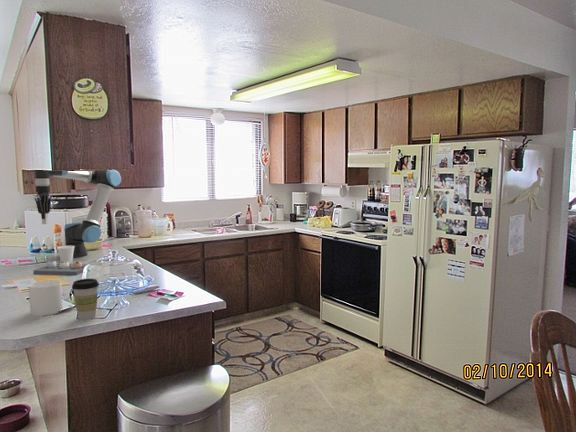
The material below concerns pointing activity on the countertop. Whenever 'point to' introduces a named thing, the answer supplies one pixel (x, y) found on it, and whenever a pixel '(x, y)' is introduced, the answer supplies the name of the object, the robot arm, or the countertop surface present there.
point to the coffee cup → (86, 297)
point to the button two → (64, 265)
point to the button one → (51, 264)
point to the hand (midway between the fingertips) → (45, 224)
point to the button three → (77, 265)
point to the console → (60, 270)
